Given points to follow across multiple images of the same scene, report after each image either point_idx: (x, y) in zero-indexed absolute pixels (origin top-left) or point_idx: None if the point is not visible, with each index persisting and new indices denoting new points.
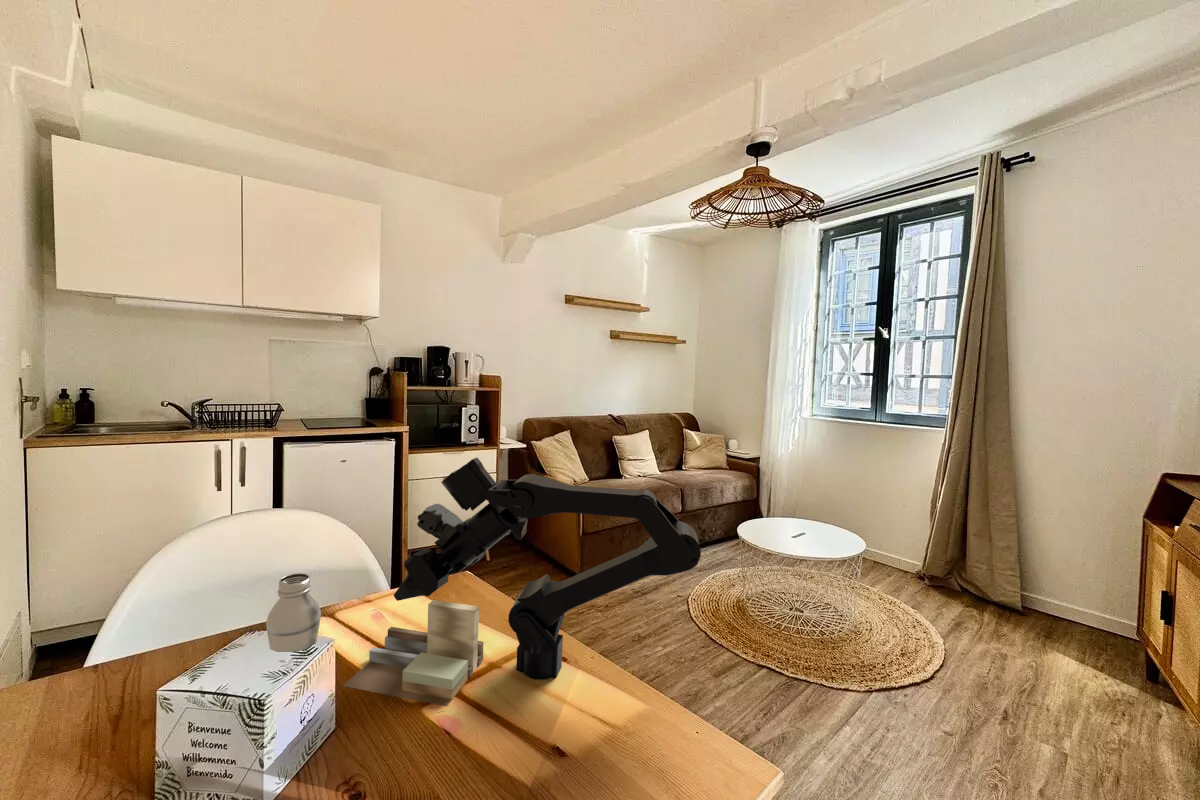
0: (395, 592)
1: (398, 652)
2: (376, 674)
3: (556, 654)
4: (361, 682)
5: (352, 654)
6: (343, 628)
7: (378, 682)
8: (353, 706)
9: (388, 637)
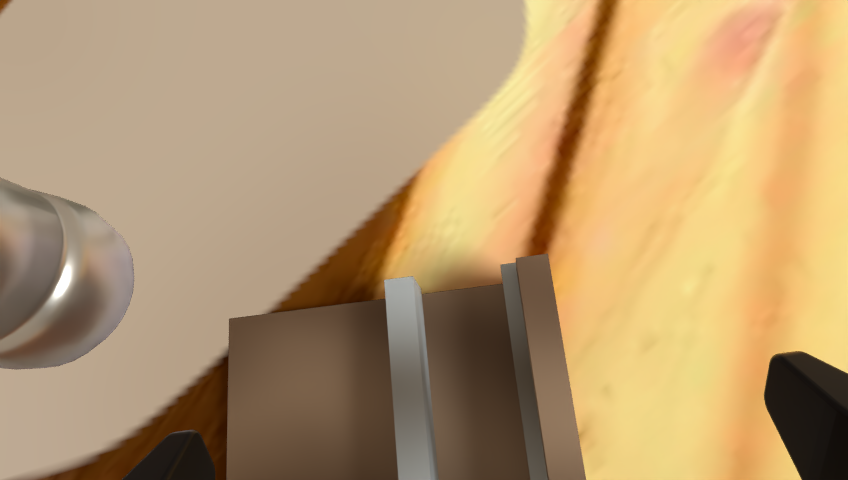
0: (143, 460)
1: (417, 420)
2: (326, 389)
3: None
4: (264, 371)
5: (449, 174)
6: (584, 5)
7: (283, 438)
8: (185, 423)
9: (511, 278)
